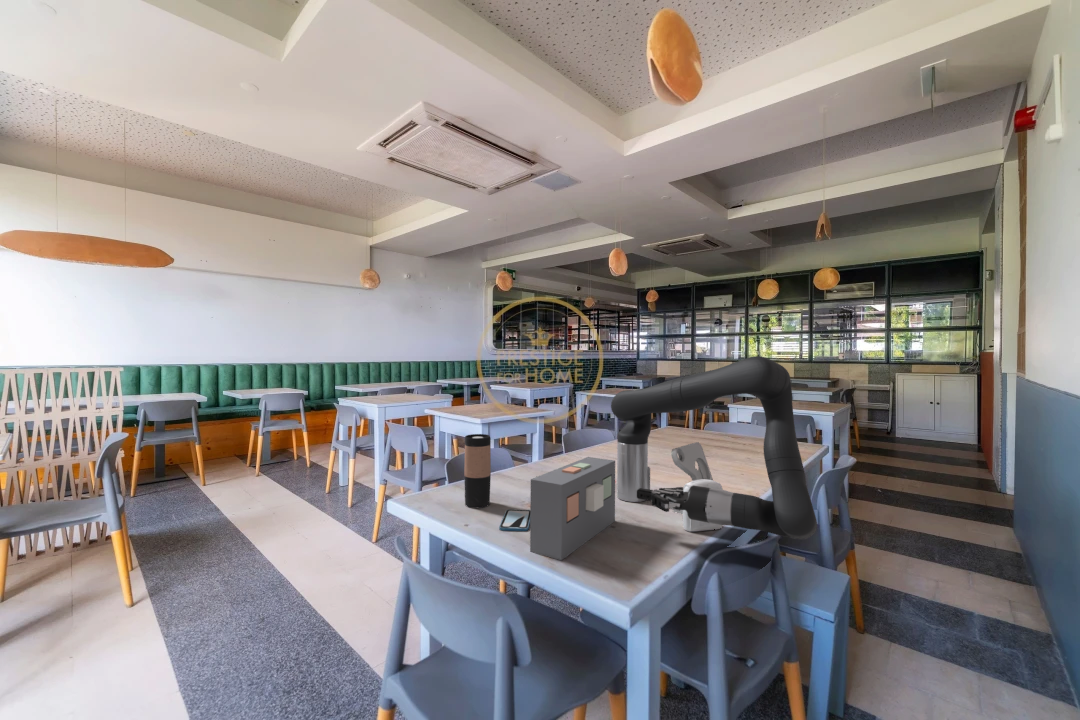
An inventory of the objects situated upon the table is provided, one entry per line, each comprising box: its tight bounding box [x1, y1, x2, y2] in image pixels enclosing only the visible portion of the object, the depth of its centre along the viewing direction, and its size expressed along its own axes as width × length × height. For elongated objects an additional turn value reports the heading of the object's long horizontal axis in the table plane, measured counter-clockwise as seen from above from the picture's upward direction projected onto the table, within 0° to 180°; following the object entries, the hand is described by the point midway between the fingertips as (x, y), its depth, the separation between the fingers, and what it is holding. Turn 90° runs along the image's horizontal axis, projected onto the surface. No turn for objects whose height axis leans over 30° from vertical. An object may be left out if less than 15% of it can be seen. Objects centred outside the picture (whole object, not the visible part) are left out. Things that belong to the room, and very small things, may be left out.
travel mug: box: [463, 433, 492, 508], centre depth 131 cm, size 8×8×20 cm
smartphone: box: [498, 508, 530, 532], centre depth 119 cm, size 7×1×15 cm
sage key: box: [602, 476, 611, 499], centre depth 115 cm, size 4×5×5 cm
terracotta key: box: [567, 492, 579, 522], centre depth 100 cm, size 4×5×5 cm
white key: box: [586, 483, 604, 511], centre depth 107 cm, size 4×5×5 cm
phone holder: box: [671, 441, 714, 515], centre depth 129 cm, size 17×10×18 cm, turn 136°
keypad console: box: [529, 456, 616, 561], centre depth 109 cm, size 8×28×16 cm, turn 147°
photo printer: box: [682, 479, 724, 533], centre depth 114 cm, size 10×4×12 cm, turn 106°
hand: (637, 493), depth 110 cm, fingers closed
